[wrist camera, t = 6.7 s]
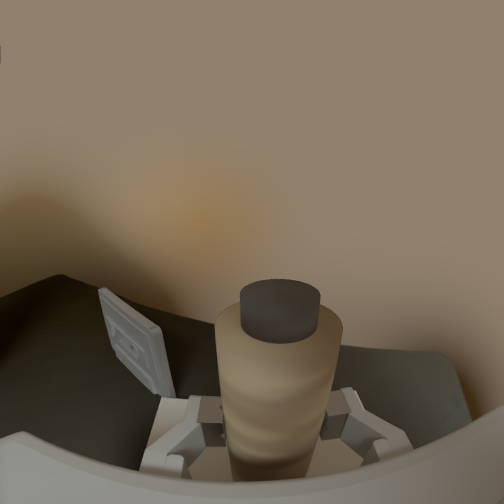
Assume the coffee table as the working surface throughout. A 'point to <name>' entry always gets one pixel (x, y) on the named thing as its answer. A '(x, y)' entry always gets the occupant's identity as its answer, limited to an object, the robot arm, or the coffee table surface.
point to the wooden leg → (275, 377)
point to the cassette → (137, 344)
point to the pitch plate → (217, 458)
